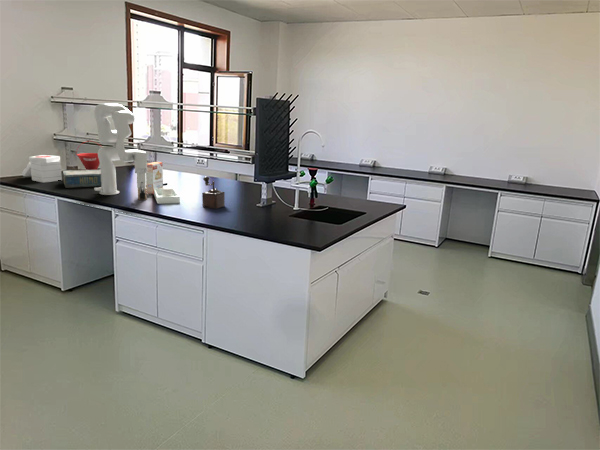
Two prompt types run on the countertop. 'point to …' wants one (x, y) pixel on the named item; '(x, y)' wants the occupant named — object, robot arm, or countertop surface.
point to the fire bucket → (89, 160)
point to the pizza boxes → (44, 168)
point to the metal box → (82, 178)
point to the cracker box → (154, 176)
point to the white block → (167, 192)
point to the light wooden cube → (139, 195)
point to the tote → (166, 199)
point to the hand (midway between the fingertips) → (142, 197)
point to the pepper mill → (213, 197)
